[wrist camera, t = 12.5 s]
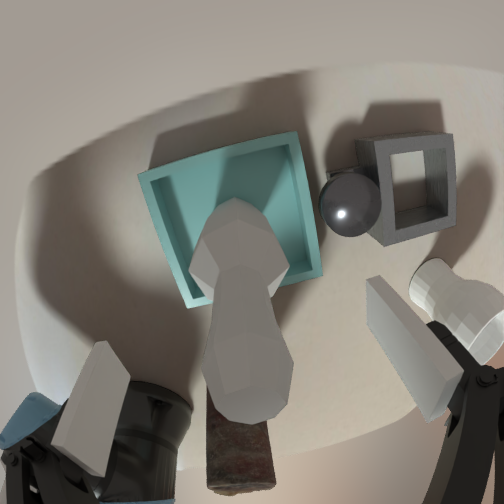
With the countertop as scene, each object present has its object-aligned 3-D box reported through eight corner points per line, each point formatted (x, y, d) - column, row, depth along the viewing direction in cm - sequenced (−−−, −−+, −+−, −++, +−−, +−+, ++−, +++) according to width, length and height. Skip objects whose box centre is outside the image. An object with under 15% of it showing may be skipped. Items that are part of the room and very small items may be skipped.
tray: (191, 291, 33) (187, 308, 30) (147, 170, 27) (137, 174, 24) (314, 261, 32) (322, 275, 29) (289, 131, 26) (296, 131, 23)
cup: (407, 252, 33) (478, 316, 19) (459, 245, 33) (526, 294, 19) (394, 317, 37) (445, 387, 23) (444, 304, 38) (496, 360, 24)
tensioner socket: (315, 245, 32) (331, 266, 26) (298, 149, 27) (312, 152, 22) (435, 214, 31) (460, 228, 26) (429, 131, 26) (458, 134, 21)
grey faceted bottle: (278, 218, 29) (373, 388, 9) (236, 260, 30) (253, 457, 10) (234, 176, 27) (248, 297, 7) (191, 222, 28) (125, 404, 8)
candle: (262, 347, 37) (282, 481, 19) (258, 380, 40) (272, 498, 22) (206, 346, 36) (198, 482, 18) (208, 379, 39) (204, 499, 21)
